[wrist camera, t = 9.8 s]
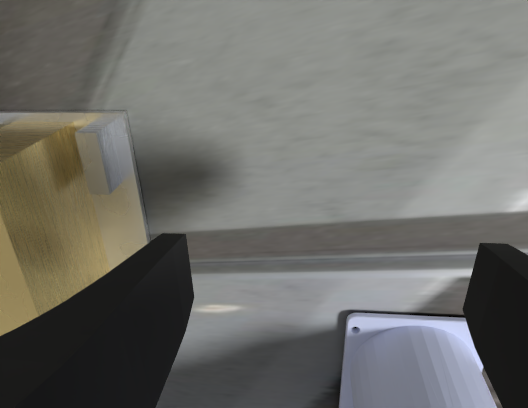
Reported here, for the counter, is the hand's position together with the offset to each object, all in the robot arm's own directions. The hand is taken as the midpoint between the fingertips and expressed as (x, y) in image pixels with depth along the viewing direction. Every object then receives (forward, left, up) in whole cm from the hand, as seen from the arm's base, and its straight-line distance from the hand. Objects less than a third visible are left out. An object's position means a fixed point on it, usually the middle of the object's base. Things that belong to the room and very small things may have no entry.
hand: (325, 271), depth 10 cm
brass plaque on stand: (-5, +13, -10) cm, 17 cm away
